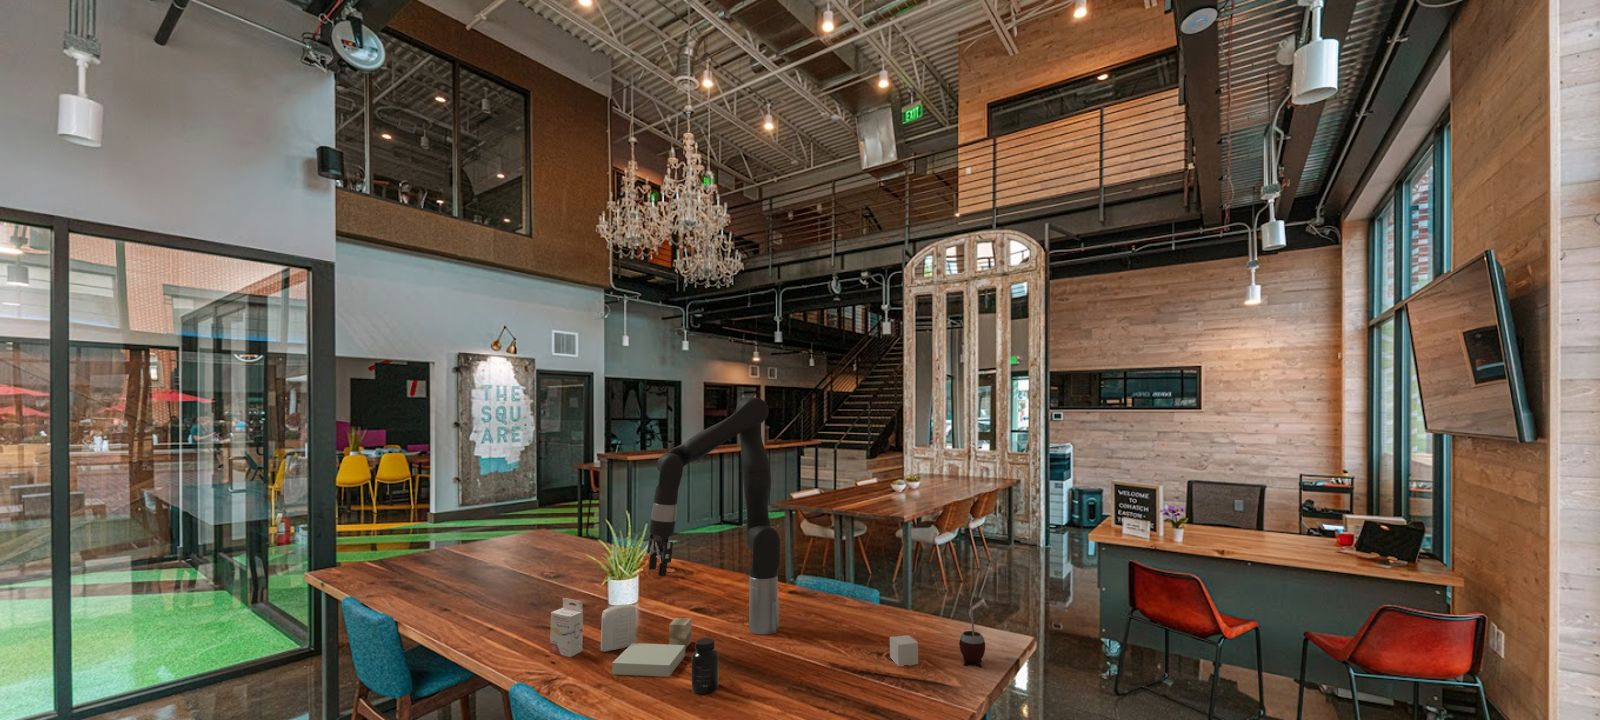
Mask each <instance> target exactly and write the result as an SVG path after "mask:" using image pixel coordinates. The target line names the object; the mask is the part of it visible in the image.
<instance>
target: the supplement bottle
mask: <svg viewBox="0 0 1600 720" xmlns="http://www.w3.org/2000/svg"><path fill="white" fill-rule="evenodd" d="M715 646H716V645H715V639H713V638H710V637H702V638H699V639H697V640H696V641H695V647H694V649H695V651H694V652H693V653H692V655H691V690H692V692H694V693H695V694H697V695H709V694H712V693H714V692H716V691H717V690H718V688H719V653H718V651H717V650H716V649H715Z"/></svg>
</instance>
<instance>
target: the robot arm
mask: <svg viewBox="0 0 1600 720" xmlns="http://www.w3.org/2000/svg"><path fill="white" fill-rule="evenodd" d="M769 412H770V411H769V406H768V403H766V401H765V400H764V399H762V398H759V397H754V396H753V397H752V396H751V397H745V398H742V399H741V400H740V401H739V402H738V403H737V405H736V408H735V412H734V413H732V414H731V415H730V416H728V417H726V418H725V419H723V420H721V421H720V422H717V423H716V424H714V425H711V426H709V427H707V428H705V429H704V430H701V431H700V432H698V433H696V434H695V435H693V436H692V437H691V438H689V439H687V440H686V441H685V442H683V443H681V444H679V445H677V446H675V447H672V449H670V450H667V451H666V452H665V453H663V454H662V455H660V456H659V458H658V459H657V462H656V466H657V470H658V472H659V478H658V483H657V486H656V488H655V490H654V491H655V492H654V497H653V498H654V499H653V505H652V510H651V515H650V521H649V522H650V524H649V531H648V533H649V535H648V536H649V537H648V544H647V550H646V551H647V554H648V557H649V561H648V570H650V571H651V570H652V571H654V570H656V569H657V564H658V563H657V562H658V560H659V565H658V572H657V576H659V577H666V575H667V571H668V570H667V569H668V564H670V563H671V562H672V557H673V556H672V555H673V554H672V553H673V547H674V546H673V545H674V543H673V541H669V538H670V536H674V535H675V529H676V521H677V513H678V510H677V507H678V506H677V505H678V498H679V487H680V486H681V482H682V481H681V480H682V476H683V471H684V467H685V466H686V465H688V464H690V463H692V462H695V461H698V460H700V459H702V458H703V457H705V456H706V455H707V454H709V453H711V452H712V451H713V450H715V449H716V448H718V447H719V446H721V445H722V444H724V443H725V442H727V441H728V440H730V439H732V438H733V437H736V436H737V435H739V438H740V452H741V453H740V455H741V470H742V481H743V482H742V483H743V489H744V501H745V507H746V543H747V544H748V545H747V546H748V547H749V548H750V549H751V550H752V563H751V565H750V567H749V570H748V574H749V577H748V578H749V581H748V582H749V586H748V587H749V590H748V591H749V593H748V594H749V595H748V596H749V599H748V601H749V603H748V604H749V606H748V613H749V615H748V616H749V617H748V621H749V622H748V625H749V626H748V627H749V629H748V630H749V632H750V633H752V634H754V635H771V634H777V632H778V630H779V627H780V597H779V595H778V593H779V592H778V590H779V589H778V588H779V587H778V586H779V585H778V584H779V583H778V580H779V579H778V578H779V577H778V576H779V575H778V573H779V571H778V570H779V568H780V564H781V563H780V559H781V539H780V535H779V533H778V531H777V530H776V529H775V528H773V527H772V526H771V523H770V517H769V516H770V515H769V499H770V495H771V489H772V475H771V465H770V461H769V457H768V454H767V450H766V448H765V445H764V443H763V442H764V441H763V438H762V429H761V424H762V423H764V422H765V421H766V419H767V418H768V415H769Z"/></svg>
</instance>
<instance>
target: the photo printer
mask: <svg viewBox="0 0 1600 720" xmlns="http://www.w3.org/2000/svg"><path fill="white" fill-rule="evenodd" d="M636 611H637V610H636V607H635V605H632V604H624V603H623V604H616V605H614V606H613V605H612V606H610V607H608V608H605V609H604V610H603V611H602V614H601V626H600V627H601V630H600V632H601V634H600V651H601V652H604V653H605V652H610V651H615V650H619V649H624V648H628V647H629V646H630V645H631V644H632V643H636V618H637V617H636V616H637V615H636Z"/></svg>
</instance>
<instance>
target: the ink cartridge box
mask: <svg viewBox="0 0 1600 720" xmlns="http://www.w3.org/2000/svg"><path fill="white" fill-rule="evenodd" d="M572 603H573V604H575V605H573V604H572ZM571 604H572V605H571ZM583 622H584V610H583V602H582V601H581V600H576V599H572V598H566V597H563V598H562V607H561V608H558V609H556V610H553V611H551V612H550V633H549V634H550V636H549V637H550V638H549V653H551V654H555V655H560V656H564V657H569V658H572V657H574V656H576V655H577V654H579V653H582V652H583V638H584V637H583V633H584V631H583V630H584V625H583V624H584V623H583Z"/></svg>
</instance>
